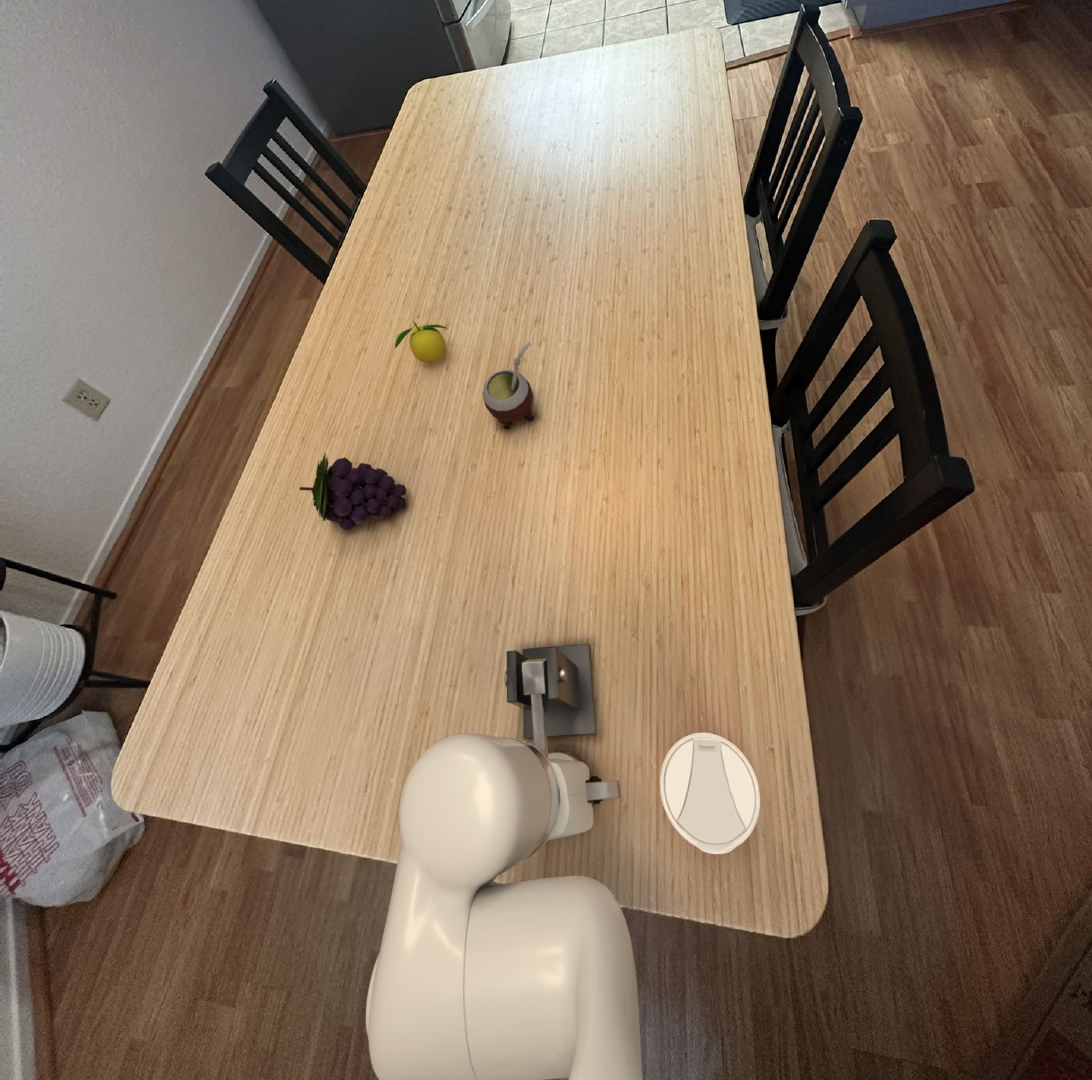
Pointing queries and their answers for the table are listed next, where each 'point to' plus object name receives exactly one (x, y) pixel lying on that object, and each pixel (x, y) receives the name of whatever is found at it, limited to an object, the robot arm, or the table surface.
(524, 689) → the lever
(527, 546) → the table surface
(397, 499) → the fruit
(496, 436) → the table surface
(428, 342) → the lemon
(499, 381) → the mate gourd
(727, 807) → the coffee cup
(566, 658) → the lever base stand
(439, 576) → the table surface
